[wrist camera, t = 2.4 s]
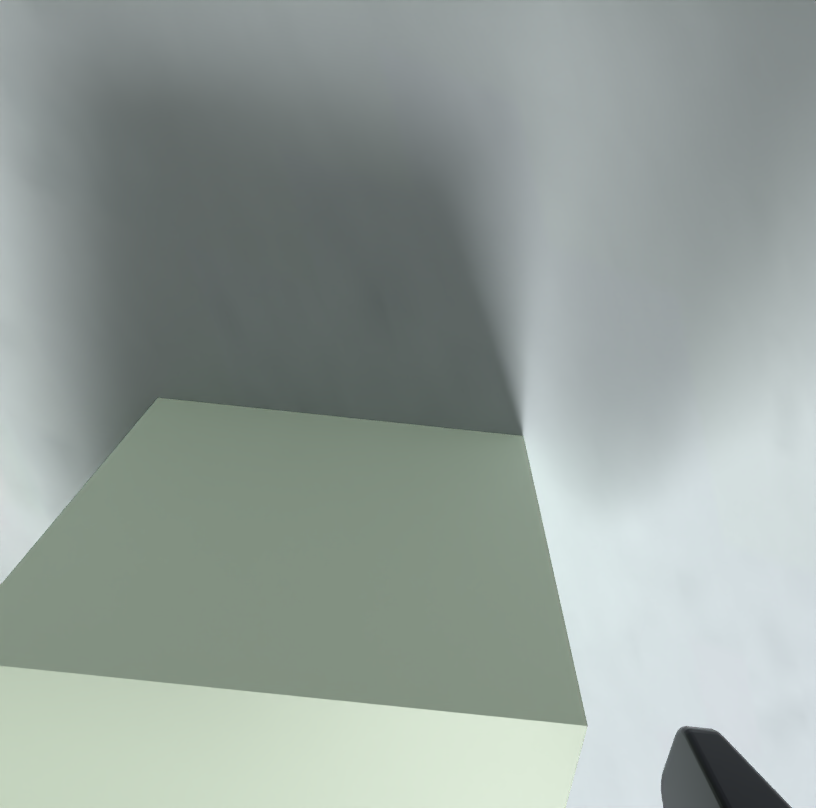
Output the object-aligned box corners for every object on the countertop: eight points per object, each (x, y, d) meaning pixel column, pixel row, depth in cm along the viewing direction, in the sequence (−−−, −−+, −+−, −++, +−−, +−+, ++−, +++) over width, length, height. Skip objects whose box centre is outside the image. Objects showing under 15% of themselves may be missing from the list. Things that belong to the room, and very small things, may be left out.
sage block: (474, 702, 12) (494, 1072, 8) (172, 670, 12) (16, 1025, 8) (522, 433, 10) (587, 725, 6) (159, 395, 10) (-63, 658, 6)
